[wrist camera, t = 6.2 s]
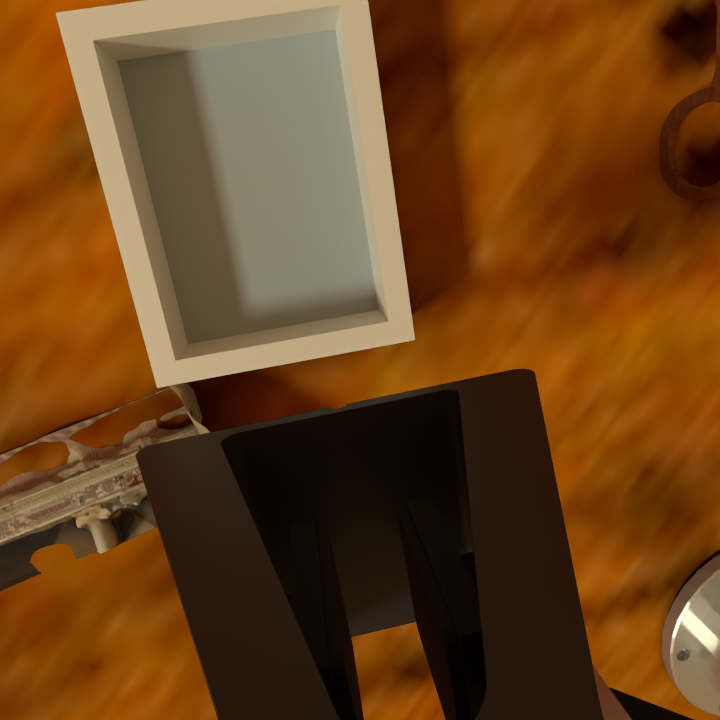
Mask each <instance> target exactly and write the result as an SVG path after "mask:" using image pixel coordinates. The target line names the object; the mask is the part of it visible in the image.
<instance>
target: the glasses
mask: <svg viewBox="0 0 720 720" xmlns="http://www.w3.org/2000/svg"><path fill="white" fill-rule="evenodd" d="M715 1H716V5H717V42H716V69H715V73H714V77H713V81H712V84H711V87H710V88H707V89H704V90H701V91H698V92H696V93H694V94H692V95H690V96H688V97H687V98H685V99H684V100H682V101H681V102H679V103H678V104H677V105H676V106H675V107H674V108H673V109H672V111H671V112H670V113H669V115H668V117H667V119H666V121H665V124H664V127H663V130H662V133H661V139H660V165H661V170H662V174H663V176H664V179H665V181H666V183H667V184H668V186H669V187H670V189H671V190H673V191H674V192H675V193H676V194H678V195H679V196H681V197H683V198H687V199H690V200H705V199H711V198H716V197H719V196H720V181H719V182H717V183H715V184H714V185H711V186H708V187H698V186H694V185H692V184H690V183H688V182H686V181H685V180H684V179H683V178H682V176H681V175H680V173H679V171H678V169H677V166H676V162H675V155H674V145H675V138H676V133H677V131H678V128H679V125H680V123H681V122H682V120H683V118H684V117H685V116H686V115H687V114H688V113H689V112H690V111H691V110H693V109H694V108H696V107H698V106H700V105H702V104H704V103H707V102H710V101H714V102H719V103H720V0H715Z"/></svg>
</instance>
